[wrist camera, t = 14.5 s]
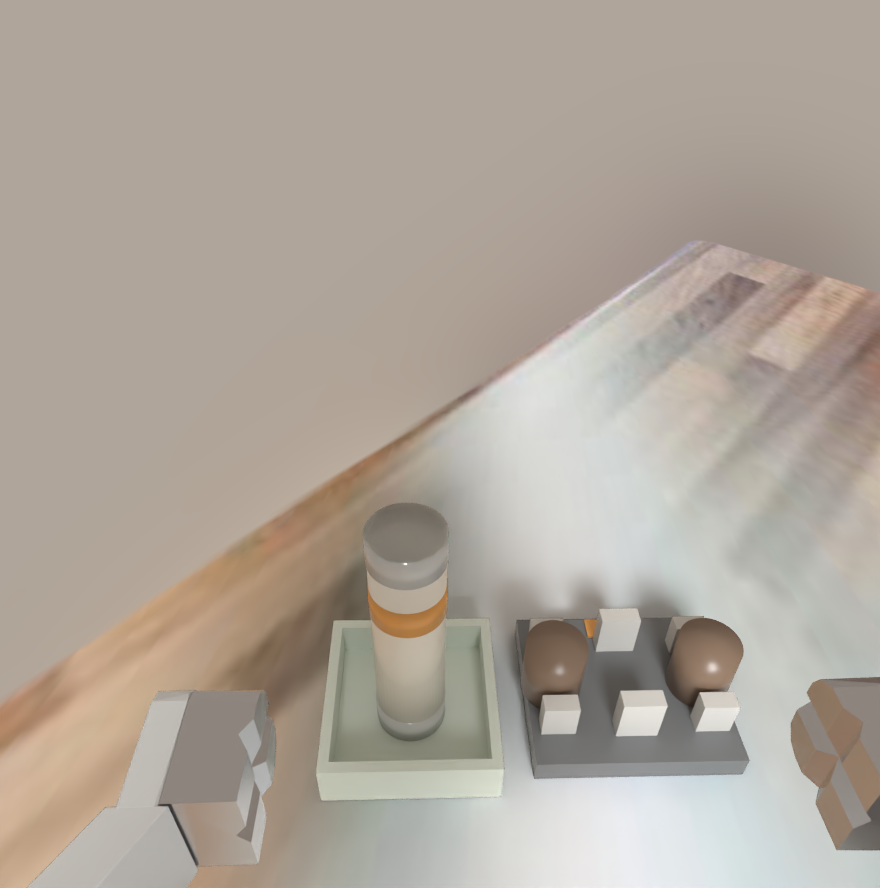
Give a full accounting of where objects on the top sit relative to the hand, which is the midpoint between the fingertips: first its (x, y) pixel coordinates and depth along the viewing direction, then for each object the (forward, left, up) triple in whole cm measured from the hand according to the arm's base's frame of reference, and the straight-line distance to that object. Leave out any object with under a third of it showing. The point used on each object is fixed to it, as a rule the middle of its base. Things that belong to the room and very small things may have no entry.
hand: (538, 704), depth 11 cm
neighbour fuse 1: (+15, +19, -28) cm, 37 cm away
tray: (-2, +18, -30) cm, 35 cm away
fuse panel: (+11, +19, -30) cm, 37 cm away
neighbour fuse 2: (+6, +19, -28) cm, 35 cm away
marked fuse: (-2, +18, -29) cm, 34 cm away
